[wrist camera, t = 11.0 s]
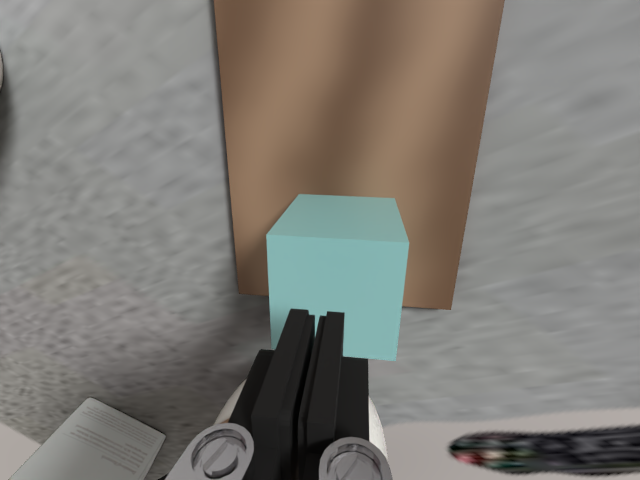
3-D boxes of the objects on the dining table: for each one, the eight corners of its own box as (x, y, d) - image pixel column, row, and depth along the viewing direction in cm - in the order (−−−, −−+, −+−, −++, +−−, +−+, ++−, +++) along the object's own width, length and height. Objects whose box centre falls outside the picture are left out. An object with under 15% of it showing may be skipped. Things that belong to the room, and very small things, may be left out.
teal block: (394, 198, 18) (409, 242, 12) (386, 284, 20) (395, 360, 14) (298, 194, 19) (266, 234, 13) (299, 278, 21) (271, 349, 14)
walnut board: (514, -97, 14) (523, -109, 13) (447, 302, 21) (450, 309, 20) (213, -80, 15) (206, -90, 15) (243, 287, 22) (239, 293, 22)
